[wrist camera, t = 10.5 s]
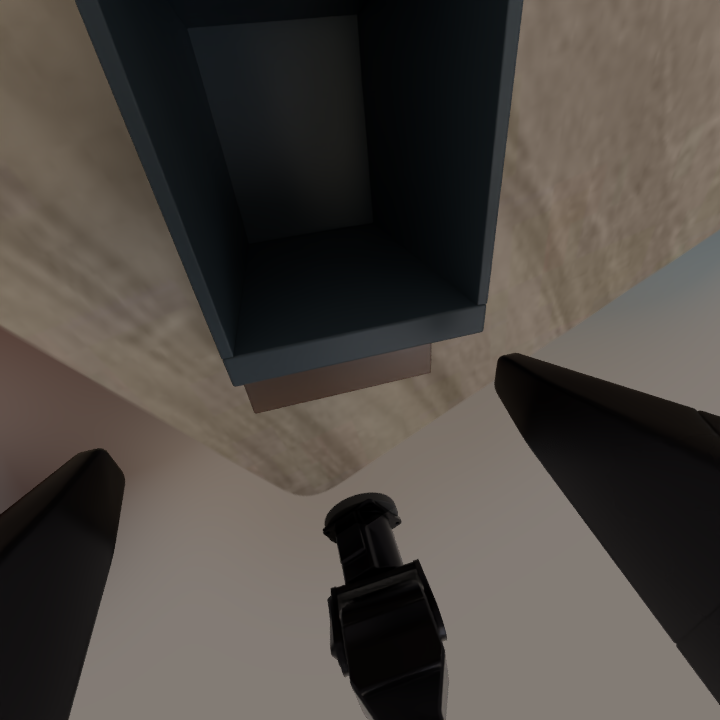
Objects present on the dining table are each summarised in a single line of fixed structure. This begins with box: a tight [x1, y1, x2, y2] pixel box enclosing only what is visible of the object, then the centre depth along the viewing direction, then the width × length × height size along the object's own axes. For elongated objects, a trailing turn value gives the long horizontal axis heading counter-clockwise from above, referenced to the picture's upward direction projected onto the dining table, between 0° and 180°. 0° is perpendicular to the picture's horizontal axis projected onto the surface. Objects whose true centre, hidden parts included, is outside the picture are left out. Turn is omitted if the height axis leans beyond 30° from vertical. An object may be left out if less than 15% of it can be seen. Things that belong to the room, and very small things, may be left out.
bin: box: [75, 0, 523, 387], centre depth 11 cm, size 14×7×14 cm
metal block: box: [244, 343, 431, 414], centre depth 19 cm, size 6×10×4 cm, turn 96°
